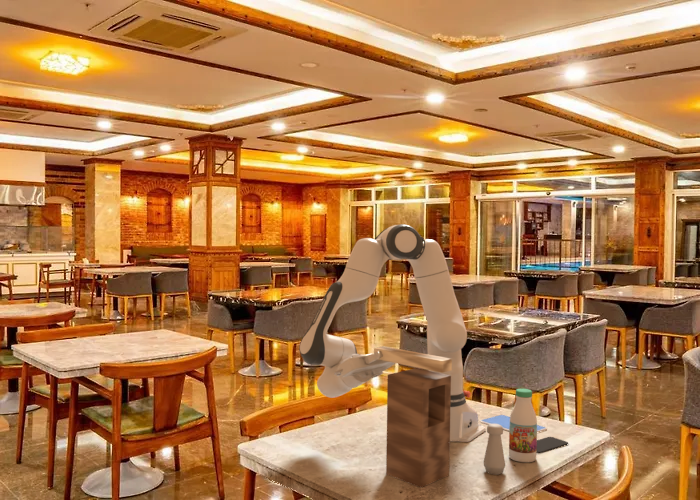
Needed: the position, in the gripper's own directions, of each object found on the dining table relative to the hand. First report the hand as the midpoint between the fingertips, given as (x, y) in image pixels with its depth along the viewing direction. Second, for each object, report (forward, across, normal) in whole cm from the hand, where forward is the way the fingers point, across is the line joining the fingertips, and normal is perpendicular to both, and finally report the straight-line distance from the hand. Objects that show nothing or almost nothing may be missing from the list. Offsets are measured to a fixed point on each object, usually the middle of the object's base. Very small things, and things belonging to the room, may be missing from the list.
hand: (387, 352), depth 174 cm
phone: (+4, +47, +40) cm, 62 cm away
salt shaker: (+5, +17, +40) cm, 44 cm away
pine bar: (+7, 0, +6) cm, 9 cm away
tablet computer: (-11, +57, +32) cm, 66 cm away
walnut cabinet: (-6, 0, +33) cm, 34 cm away
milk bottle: (+5, +32, +40) cm, 51 cm away
